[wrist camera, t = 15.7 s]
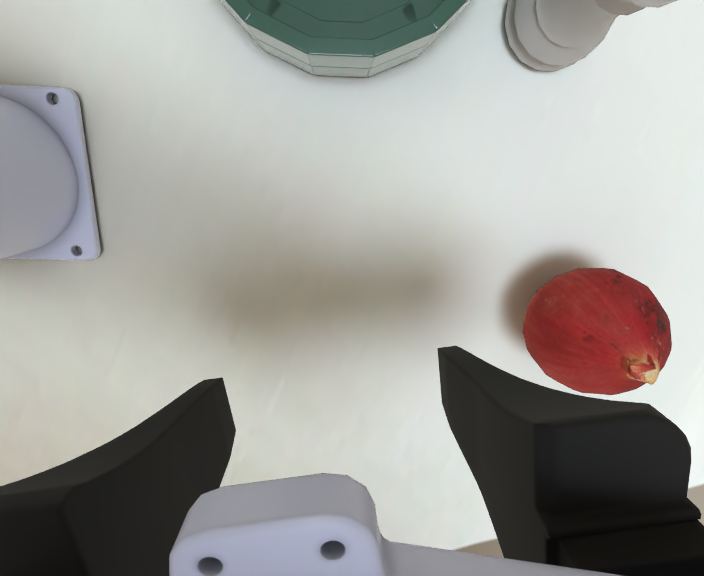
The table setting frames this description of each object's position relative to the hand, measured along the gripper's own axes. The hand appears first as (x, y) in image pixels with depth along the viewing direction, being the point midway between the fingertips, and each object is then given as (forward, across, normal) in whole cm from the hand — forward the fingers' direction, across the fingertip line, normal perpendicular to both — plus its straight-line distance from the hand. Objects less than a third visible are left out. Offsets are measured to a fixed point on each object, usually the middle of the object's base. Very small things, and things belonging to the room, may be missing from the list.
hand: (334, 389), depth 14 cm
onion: (+10, -12, +2) cm, 15 cm away
